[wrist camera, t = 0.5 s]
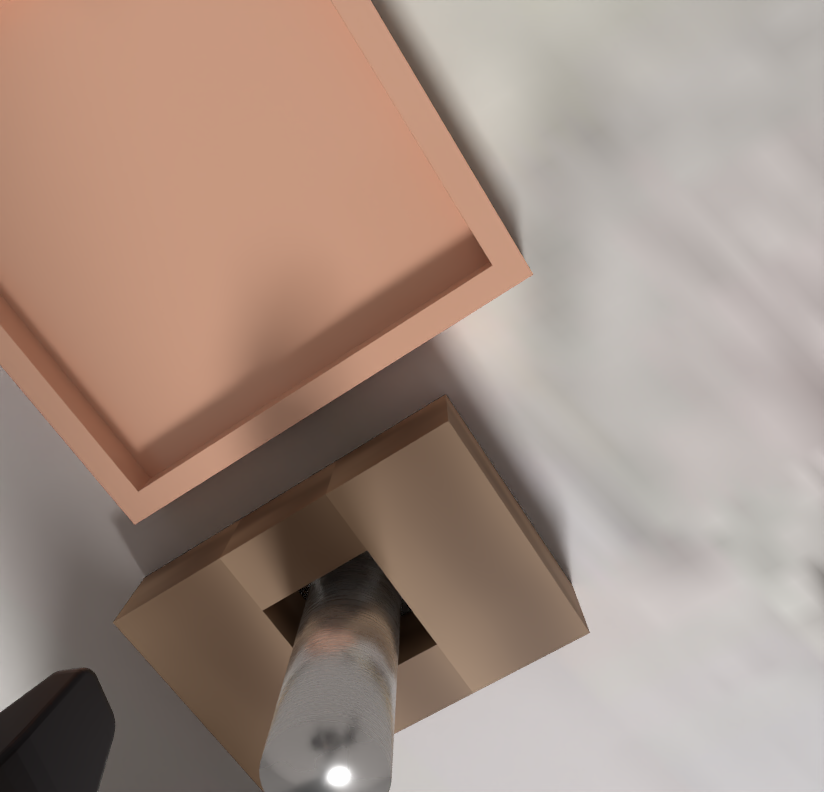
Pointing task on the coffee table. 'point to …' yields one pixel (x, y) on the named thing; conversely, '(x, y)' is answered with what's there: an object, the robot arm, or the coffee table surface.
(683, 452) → the coffee table surface
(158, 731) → the coffee table surface
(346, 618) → the metal pin
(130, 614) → the clamp block
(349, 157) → the terracotta dish
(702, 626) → the coffee table surface
